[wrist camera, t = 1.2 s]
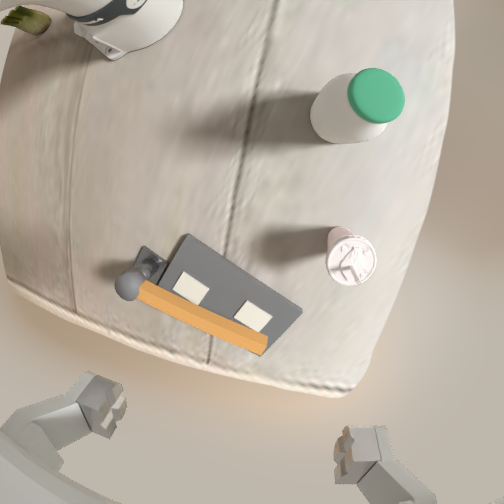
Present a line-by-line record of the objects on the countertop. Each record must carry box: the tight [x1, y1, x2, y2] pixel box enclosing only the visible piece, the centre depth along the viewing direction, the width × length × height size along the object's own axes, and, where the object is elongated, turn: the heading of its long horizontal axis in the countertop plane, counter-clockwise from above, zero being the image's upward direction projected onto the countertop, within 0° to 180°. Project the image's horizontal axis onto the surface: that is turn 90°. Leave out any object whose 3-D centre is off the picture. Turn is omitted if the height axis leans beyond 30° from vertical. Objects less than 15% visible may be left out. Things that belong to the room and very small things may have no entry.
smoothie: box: [326, 226, 376, 286], centre depth 36 cm, size 6×6×14 cm
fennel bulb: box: [1, 6, 51, 35], centre depth 27 cm, size 6×5×12 cm
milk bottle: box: [310, 68, 405, 144], centre depth 27 cm, size 8×8×20 cm
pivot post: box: [133, 246, 168, 285], centre depth 45 cm, size 5×5×6 cm
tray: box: [158, 234, 303, 356], centre depth 48 cm, size 22×12×2 cm, turn 56°
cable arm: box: [115, 268, 268, 355], centre depth 41 cm, size 24×4×3 cm, turn 66°
